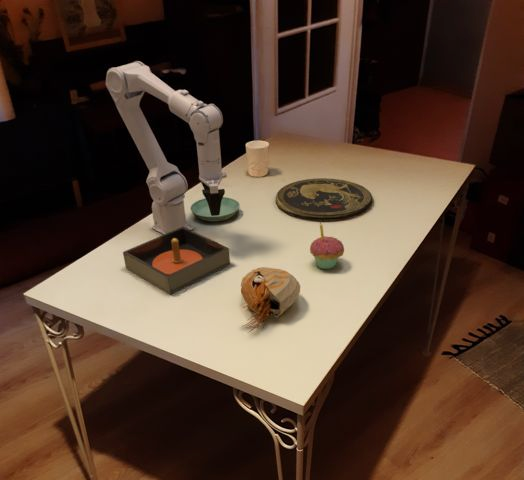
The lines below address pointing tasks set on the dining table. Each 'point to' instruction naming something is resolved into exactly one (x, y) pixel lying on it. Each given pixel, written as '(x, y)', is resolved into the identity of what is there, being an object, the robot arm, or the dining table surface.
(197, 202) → the saucer
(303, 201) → the decorative plate
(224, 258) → the tray
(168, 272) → the orange round pegged disc
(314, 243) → the cupcake
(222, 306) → the dining table surface
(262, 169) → the white cup
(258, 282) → the nautilus shell
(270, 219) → the dining table surface
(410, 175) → the dining table surface
